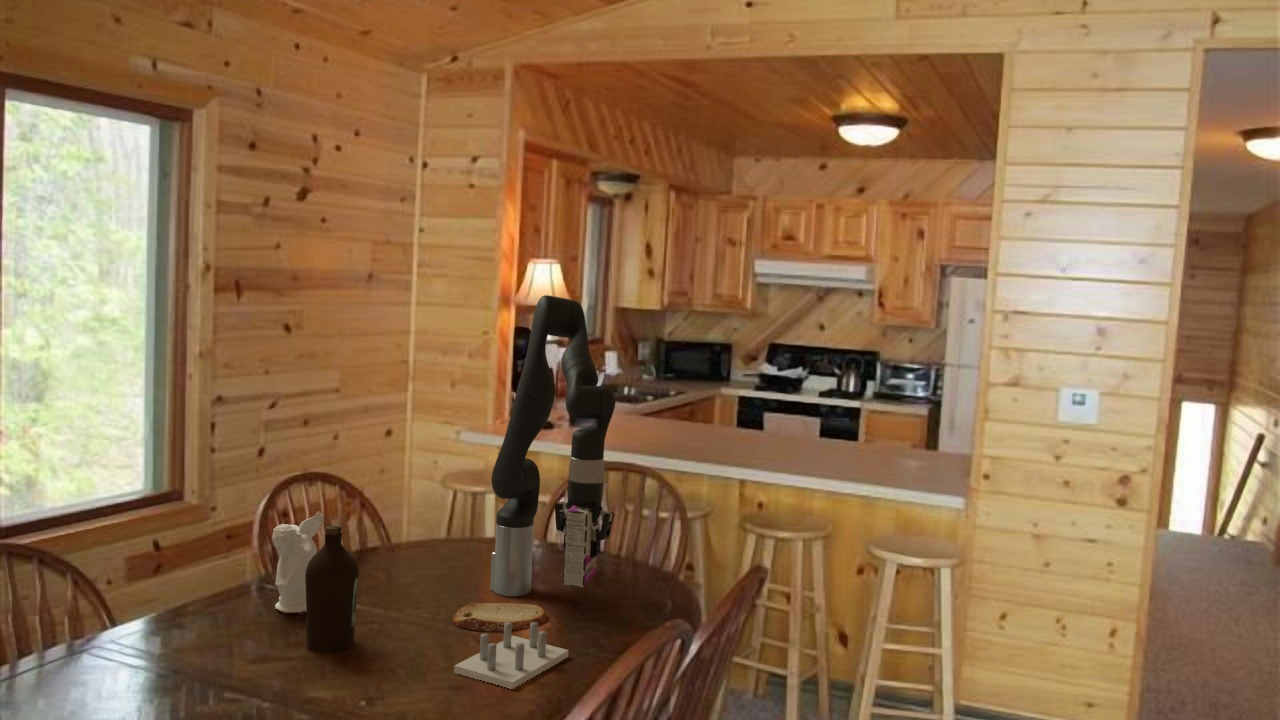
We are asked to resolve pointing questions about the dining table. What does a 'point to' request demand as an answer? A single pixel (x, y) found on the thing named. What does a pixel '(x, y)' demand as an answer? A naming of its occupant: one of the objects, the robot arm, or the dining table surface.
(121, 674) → the dining table surface
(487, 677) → the pin tray
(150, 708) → the dining table surface
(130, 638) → the dining table surface
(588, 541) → the candy bar box
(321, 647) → the olive oil
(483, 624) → the bread slice
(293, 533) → the cherub figurine
